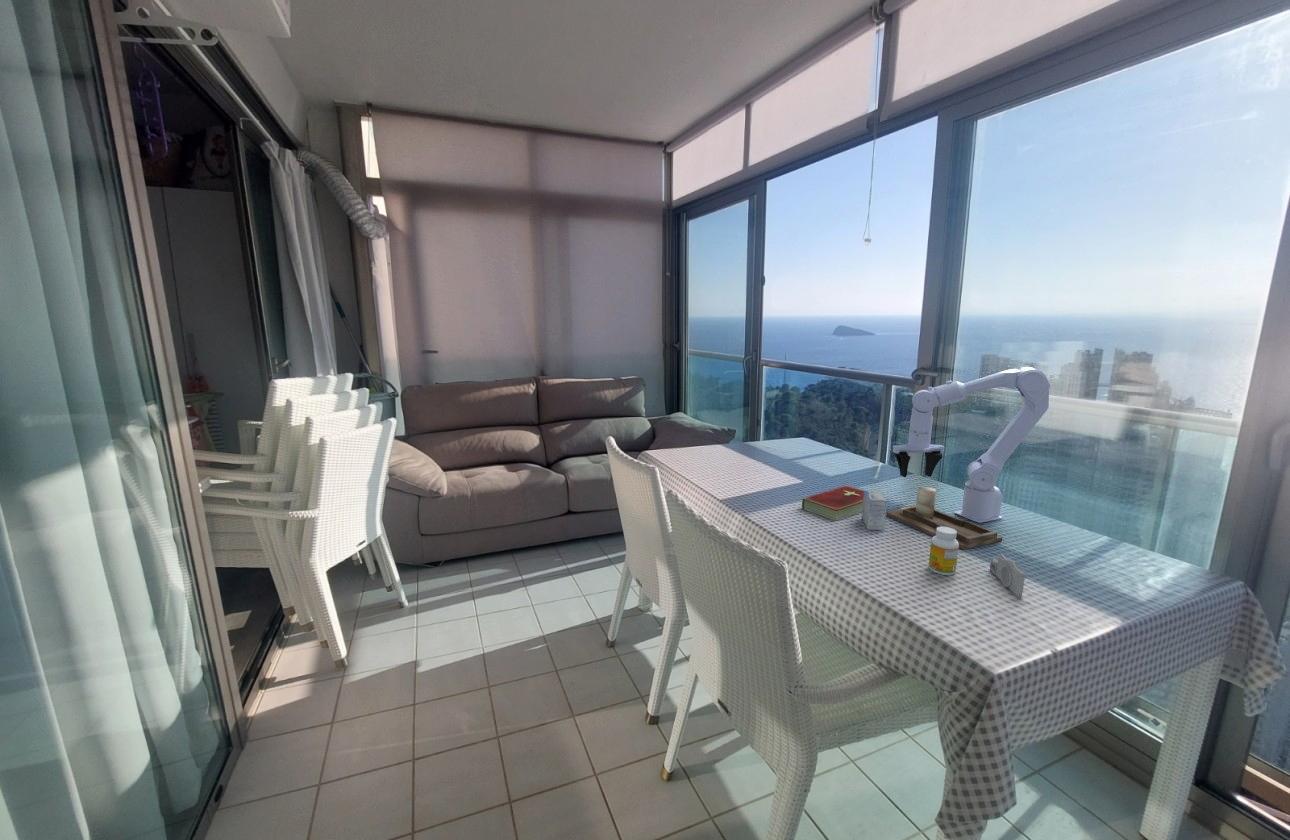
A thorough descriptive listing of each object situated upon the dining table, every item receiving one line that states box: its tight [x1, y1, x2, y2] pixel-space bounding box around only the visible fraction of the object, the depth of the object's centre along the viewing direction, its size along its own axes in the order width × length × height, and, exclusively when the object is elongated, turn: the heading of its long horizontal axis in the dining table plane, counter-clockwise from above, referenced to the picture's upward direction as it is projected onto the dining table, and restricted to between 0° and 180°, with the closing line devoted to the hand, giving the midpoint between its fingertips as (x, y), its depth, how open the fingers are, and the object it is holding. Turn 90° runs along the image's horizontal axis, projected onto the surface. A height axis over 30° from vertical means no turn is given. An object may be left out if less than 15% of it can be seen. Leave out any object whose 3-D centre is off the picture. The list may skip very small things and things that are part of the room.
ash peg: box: [915, 486, 937, 519], centre depth 145 cm, size 4×4×8 cm
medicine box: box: [861, 490, 888, 531], centre depth 142 cm, size 8×4×9 cm, turn 168°
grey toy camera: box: [989, 553, 1029, 597], centre depth 111 cm, size 12×2×6 cm, turn 170°
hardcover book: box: [801, 484, 865, 521], centre depth 156 cm, size 12×21×4 cm, turn 124°
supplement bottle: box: [928, 527, 960, 576], centre depth 117 cm, size 5×5×10 cm
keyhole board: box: [886, 505, 1003, 550], centre depth 141 cm, size 14×24×2 cm, turn 20°
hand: (915, 475), depth 154 cm, fingers open, 7 cm apart
